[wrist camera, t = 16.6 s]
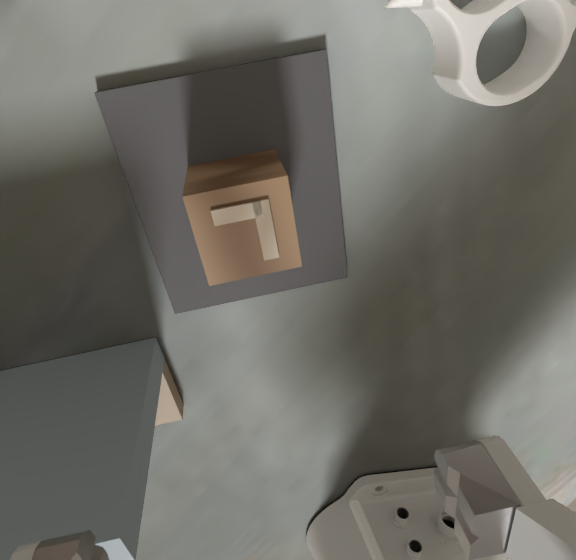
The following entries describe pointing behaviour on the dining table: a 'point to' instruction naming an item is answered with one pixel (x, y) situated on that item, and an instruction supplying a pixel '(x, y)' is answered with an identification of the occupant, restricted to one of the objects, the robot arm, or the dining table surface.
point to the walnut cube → (242, 216)
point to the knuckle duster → (467, 36)
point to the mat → (226, 144)
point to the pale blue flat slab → (81, 445)
